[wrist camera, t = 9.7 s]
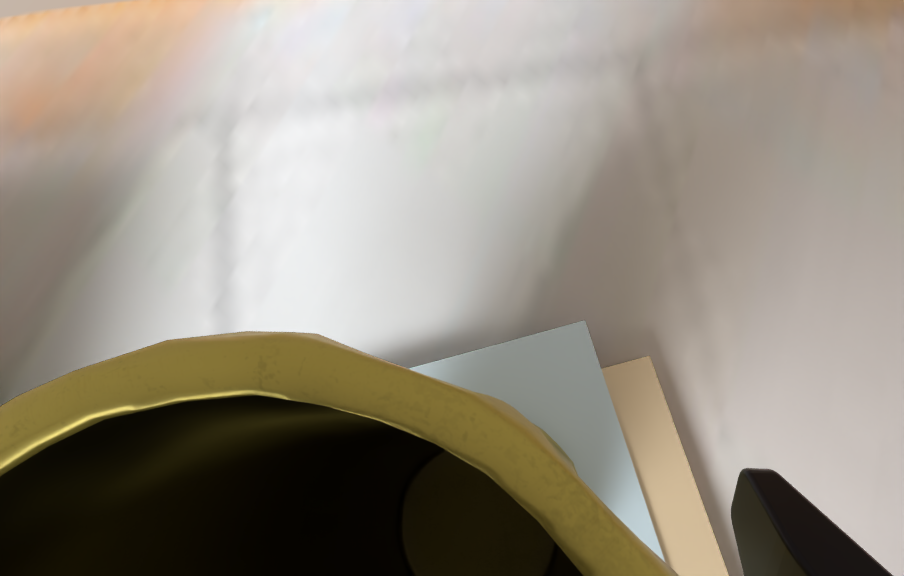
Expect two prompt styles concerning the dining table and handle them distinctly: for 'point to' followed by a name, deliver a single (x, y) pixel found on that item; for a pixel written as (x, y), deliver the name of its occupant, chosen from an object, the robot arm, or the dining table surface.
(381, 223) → the dining table surface
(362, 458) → the vase
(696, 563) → the picture board
